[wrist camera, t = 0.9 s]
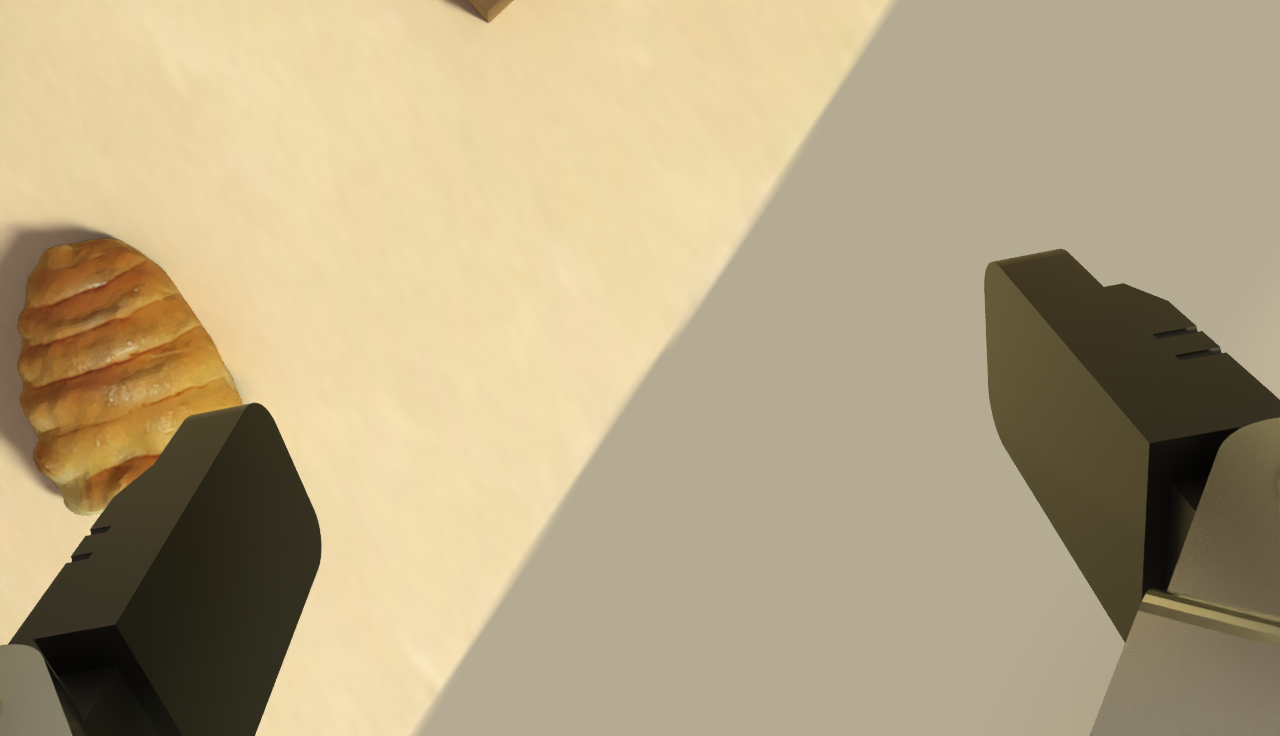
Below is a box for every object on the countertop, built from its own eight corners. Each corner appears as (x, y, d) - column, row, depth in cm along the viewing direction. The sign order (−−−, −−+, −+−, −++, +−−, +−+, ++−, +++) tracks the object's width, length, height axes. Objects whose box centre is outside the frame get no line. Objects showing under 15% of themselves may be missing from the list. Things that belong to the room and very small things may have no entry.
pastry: (-4, 271, 36) (-65, 268, 32) (187, 216, 36) (148, 206, 33) (89, 521, 37) (39, 547, 33) (273, 463, 37) (245, 482, 34)
